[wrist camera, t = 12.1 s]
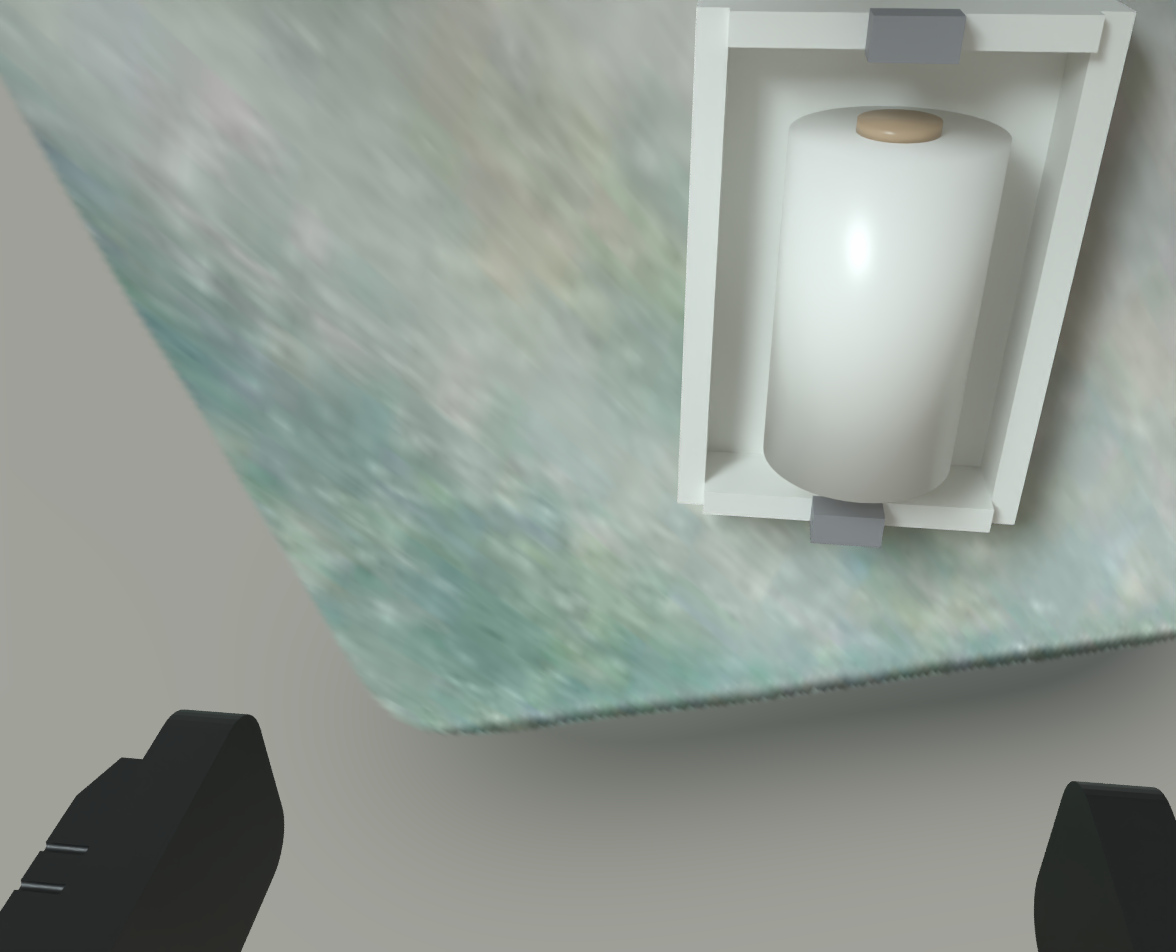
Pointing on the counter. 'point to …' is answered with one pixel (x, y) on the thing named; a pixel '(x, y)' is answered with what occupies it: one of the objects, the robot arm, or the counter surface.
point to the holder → (754, 212)
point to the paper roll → (879, 296)
